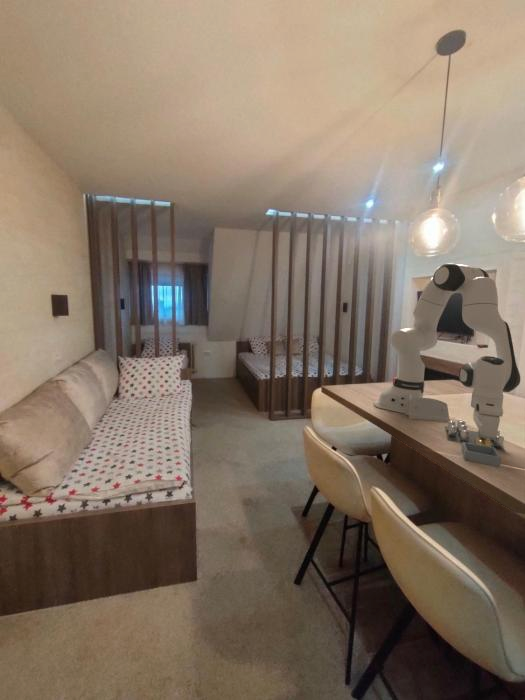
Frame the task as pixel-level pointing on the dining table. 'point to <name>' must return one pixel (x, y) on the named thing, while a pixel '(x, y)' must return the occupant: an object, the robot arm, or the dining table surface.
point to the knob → (483, 442)
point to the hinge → (428, 409)
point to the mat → (472, 438)
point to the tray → (480, 454)
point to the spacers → (465, 433)
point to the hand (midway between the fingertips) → (481, 441)
